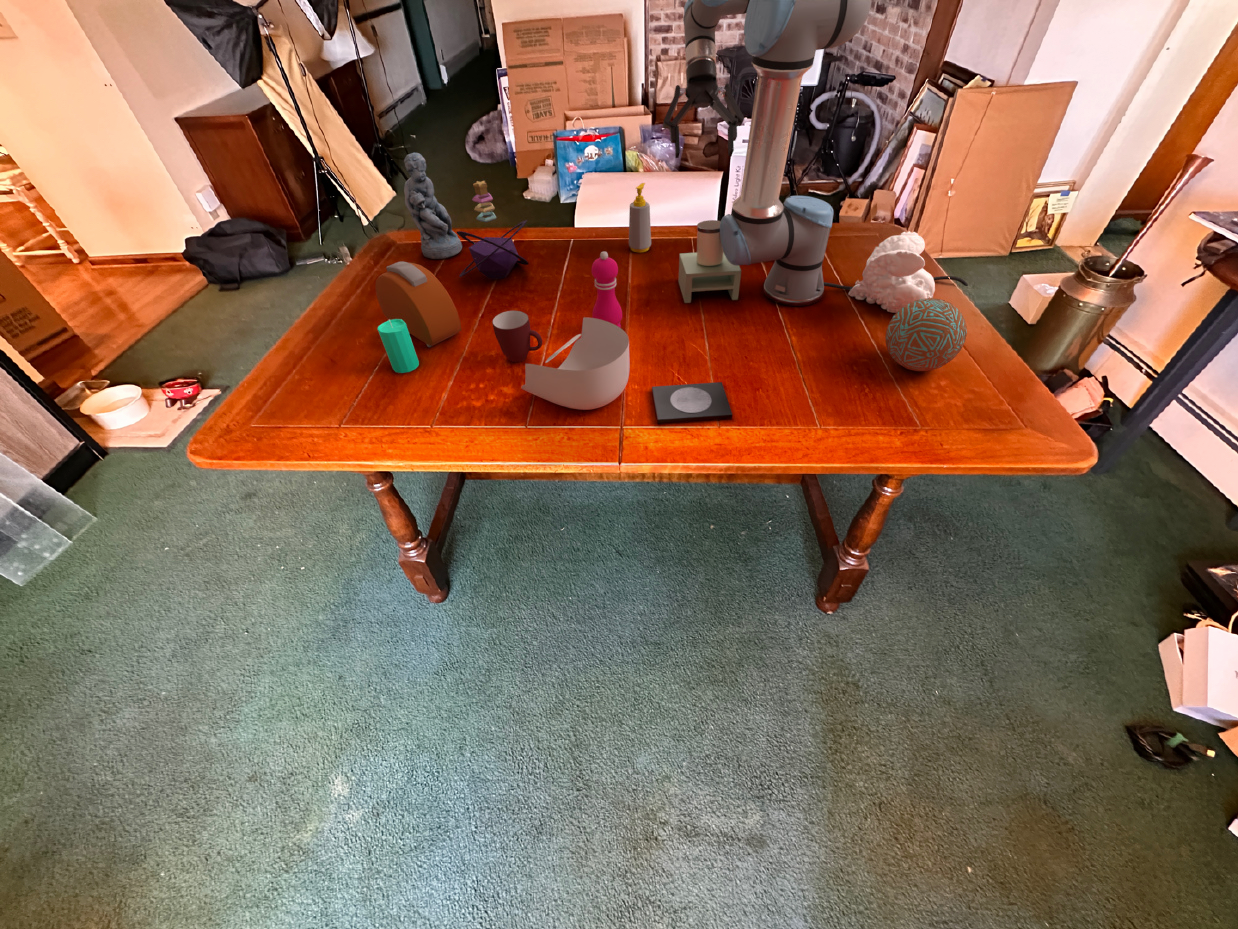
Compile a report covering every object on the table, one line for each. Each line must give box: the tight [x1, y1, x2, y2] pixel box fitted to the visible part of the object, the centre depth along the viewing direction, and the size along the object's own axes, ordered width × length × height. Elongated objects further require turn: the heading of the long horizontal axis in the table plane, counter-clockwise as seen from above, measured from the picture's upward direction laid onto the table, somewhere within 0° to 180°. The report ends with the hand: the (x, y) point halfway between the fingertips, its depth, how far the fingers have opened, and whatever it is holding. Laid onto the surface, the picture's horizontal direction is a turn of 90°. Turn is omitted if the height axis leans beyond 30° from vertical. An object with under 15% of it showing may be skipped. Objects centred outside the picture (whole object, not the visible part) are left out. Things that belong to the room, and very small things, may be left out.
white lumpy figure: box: [847, 230, 936, 314], centre depth 138 cm, size 19×20×20 cm
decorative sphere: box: [885, 297, 968, 372], centre depth 117 cm, size 15×15×15 cm
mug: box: [491, 310, 543, 363], centre depth 126 cm, size 10×8×10 cm
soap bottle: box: [628, 182, 652, 253], centre depth 163 cm, size 7×7×18 cm
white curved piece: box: [520, 316, 631, 411], centre depth 116 cm, size 20×19×12 cm
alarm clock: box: [375, 261, 463, 348], centre depth 134 cm, size 23×9×17 cm, turn 47°
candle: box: [376, 319, 420, 374], centre depth 125 cm, size 6×6×12 cm
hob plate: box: [651, 381, 733, 425], centre depth 115 cm, size 15×11×1 cm
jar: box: [696, 219, 724, 266], centre depth 141 cm, size 7×7×9 cm
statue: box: [403, 152, 463, 260], centre depth 164 cm, size 12×23×27 cm, turn 71°
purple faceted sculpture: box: [456, 180, 530, 280], centre depth 152 cm, size 22×21×25 cm
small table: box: [677, 252, 742, 304], centre depth 147 cm, size 14×12×8 cm
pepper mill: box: [591, 250, 623, 329], centre depth 130 cm, size 7×7×20 cm
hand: (704, 154), depth 141 cm, fingers open, 13 cm apart
